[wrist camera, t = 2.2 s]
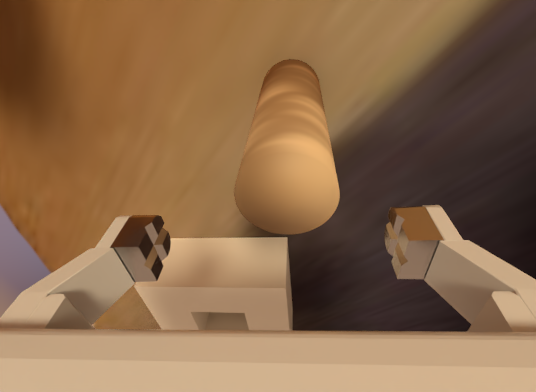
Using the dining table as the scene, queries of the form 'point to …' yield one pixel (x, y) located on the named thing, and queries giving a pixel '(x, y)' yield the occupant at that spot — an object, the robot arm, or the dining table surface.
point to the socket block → (222, 285)
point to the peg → (288, 155)
